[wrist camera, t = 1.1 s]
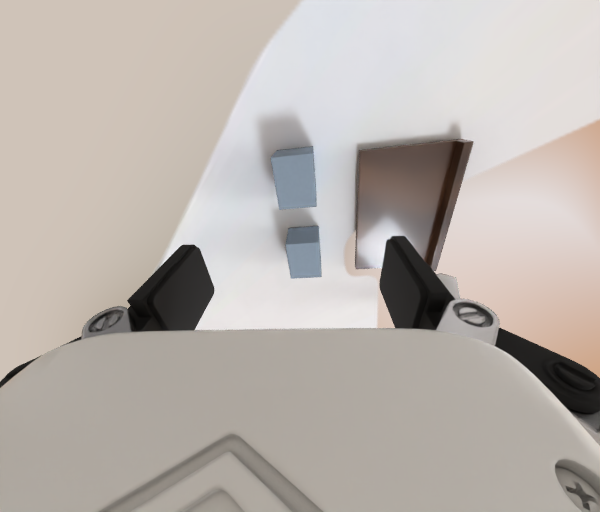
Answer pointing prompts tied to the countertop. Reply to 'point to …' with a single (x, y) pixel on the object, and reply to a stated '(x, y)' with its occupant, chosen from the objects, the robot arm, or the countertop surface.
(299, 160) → the pad
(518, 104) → the countertop surface
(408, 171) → the backing board
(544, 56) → the countertop surface
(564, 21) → the countertop surface
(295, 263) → the pad
